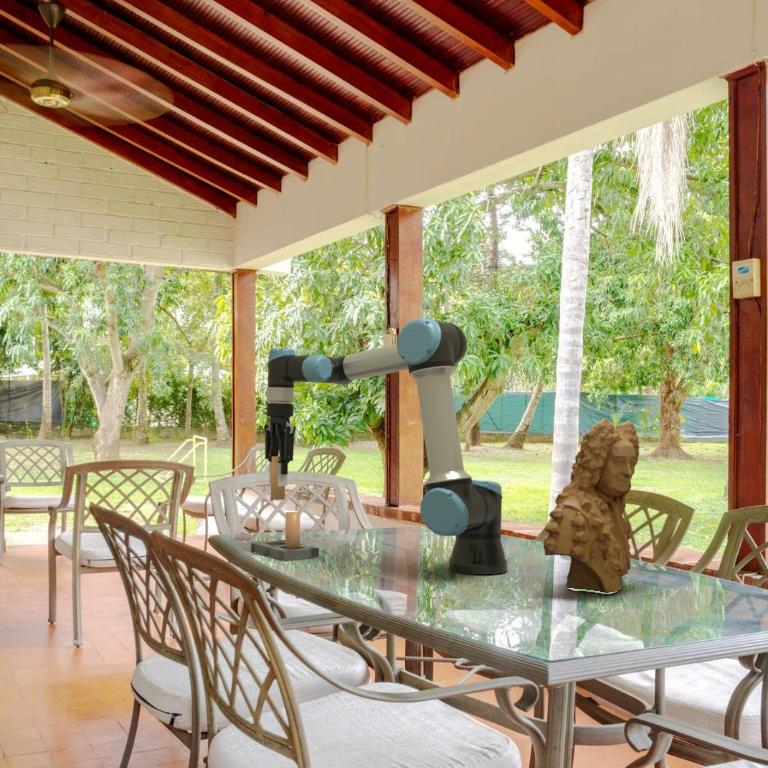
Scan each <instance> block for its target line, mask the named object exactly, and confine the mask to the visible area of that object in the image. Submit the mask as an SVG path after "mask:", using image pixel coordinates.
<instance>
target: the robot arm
mask: <svg viewBox="0 0 768 768" xmlns="http://www.w3.org/2000/svg"><path fill="white" fill-rule="evenodd" d="M467 349H468V339H467V336H466V334H465V332H464V330H462V328H461V327H459V326H458V325H457V324H455V323H452V322H448V321H442V320H437V319H433V318H429V317H426V318H425V317H424V318H421V317H419V318H418V317H416V318H413V319H411V320H410V321H408V322H406V323H405V324H404V325H403V327H402V329H401V330H400V331H399V334H398V336H397V339H396V343H394V344H390V345H386V346H382V347H378V348H373V349H368V350H364V351H359V352H355V353H351V354H347V355H342V356H337V357H331V356H327V355H322V354H315V353H314V354H305V355H303V354H302V355H301V354H300V355H296V351H295V349H293V348H287V347H286V348H284V347H282V348H281V347H280V348H279V347H276V348H270V350H269V351H268V357H267V358H268V359H267V360H268V361H267V388H266V389H267V390H266V391H267V394H266V401H267V402H268V403H267V404H266V416H267V417H270V419H269V423H268V424H264V426H263V428H264V436H265V437H264V458H265V460H268V462H269V475H268V476H269V477H268V478H269V480H268V482H269V484H268V485H269V486H271V464H272V456H280V461H278V483H277V486H279V487H280V486H285V487H287V486H288V471H289V463H291V462H293V460H294V449H295V448H294V446H295V434H296V429H297V427H296V426H295V425H291V421H290V418H291V417H294V408H295V407H294V406H295V405H294V404H293V403H292V402H294V401H295V400H294V398H295V397H294V396H295V395H294V394H295V390H294V389H295V383H316V384H317V383H318V384H335V385H347V384H351V383H352V382H353V381H357V380H361V379H367V378H371V377H376V376H382V375H387V374H391V373H392V374H393V373H397V372H402V371H407V370H408V376H409V377H411V378H412V379H413V380H414V381H415V383H416V389H417V395H418V401H419V402H418V403H419V410H420V415H421V416H420V417H421V422H422V429H423V430H422V431H423V435H424V443H425V444H424V445H425V450H426V451H425V452H426V458H427V464H428V470H429V476H428V478H427V479H426V481H425V482H424V485H425V486H424V487H425V494H424V496H423V498H422V500H421V502H420V504H419V505H420V506H419V510H420V516H421V520H422V522H423V524H424V525H425V527H426V528H428V529H429V530H430V531H431V532H432V533H434V534H435V535H438V536H442V537H453V536H455V540H454V544H453V547H452V550H451V556H450V557H449V559H448V570H450V571H451V572H455V573H459V574H466V575H474V574H494V575H499V574H498V573H502V574H505V573H507V572H508V561H507V559H506V556H505V551H504V547H503V544H502V508H503V507H502V505H503V503H502V502H503V501H502V500H503V494H502V486H501V484H500V483H499V482H495V481H490V480H489V481H488V480H480V479H478V480H477V479H472V476H471V475H470V474H468V472H467V471H465V467H464V466H465V465H464V461H463V455H462V448H461V447H462V446H461V440H460V435H459V427H458V420H457V414H456V408H455V400H454V395H453V393H454V392H453V387H452V380H451V375H452V374H453V372H454V370H456V366H455V365H457V364H458V363H460V362H461V361H462V360H463V359H464V357H465V356H466V354H467ZM506 571H507V572H506ZM504 572H505V573H504Z"/></svg>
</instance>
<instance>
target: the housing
mask: <svg viewBox="0 0 768 768" xmlns="http://www.w3.org/2000/svg"><path fill="white" fill-rule="evenodd" d="M251 551H252V552H251ZM250 552H251V553H254V552H256V553H255V554H257V553H259V554H258V555H261V554H262V556H264V555H266V556H265V557H268V556H270V557H269V558H271V557H273V558H272V559H275V558H277V559H276V560H278V559H280V560H279V561H282V560H284V561H283V562H289V561H288V560H291V561H299V560H298V559H300V560H307V559H306V558H309V559H317V558H316V557H320V548H319V547H315V546H311V545H307V544H303V543H300V546H299V549H292V550H288V549H285V539H279V540H267V541H257V542H256V541H255V542H250Z"/></svg>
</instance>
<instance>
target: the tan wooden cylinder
mask: <svg viewBox="0 0 768 768" xmlns="http://www.w3.org/2000/svg"><path fill="white" fill-rule="evenodd" d="M284 525H285V529H284V530H285V531H284V540H285V549H288V550H292V549H299V546H300V544H301V541H300V539H301V538H300V537H301V512H298V511H288V512H285V523H284Z"/></svg>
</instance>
